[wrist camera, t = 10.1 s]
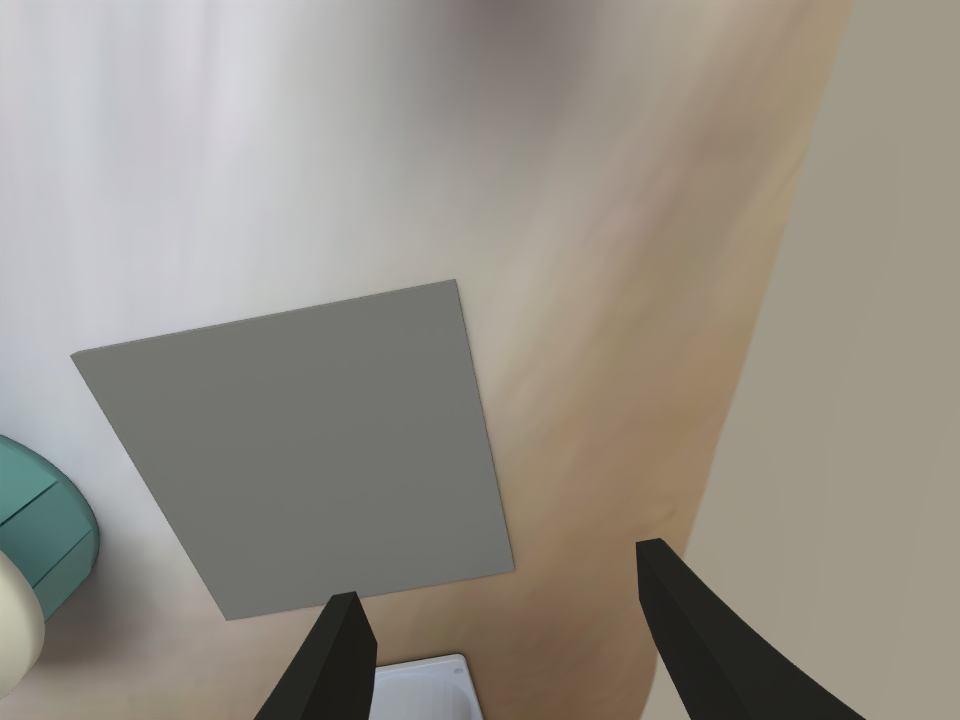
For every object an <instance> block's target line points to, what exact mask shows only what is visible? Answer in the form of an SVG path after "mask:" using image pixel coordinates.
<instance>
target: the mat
mask: <svg viewBox="0 0 960 720" xmlns="http://www.w3.org/2000/svg"><path fill="white" fill-rule="evenodd" d="M70 357H71V358H72V360H73V362H74V364H75V365H76V367H77V369H78V370H79V372H80V374H81V375H82V377H83V379H84V380H85V382H86V384H87V386H88V387H89V389H90V391H91V392H92V394H93V396H94V397H95V399H96V401H97V402H98V404H99V406H100V408H101V409H102V411H103V413H104V414H105V416H106V418H107V419H108V421H109V423H110V424H111V426H112V428H113V430H114V431H115V433H116V435H117V436H118V438H119V440H120V441H121V443H122V445H123V446H124V448H125V450H126V452H127V453H128V455H129V457H130V458H131V460H132V462H133V463H134V465H135V467H136V468H137V470H138V472H139V473H140V475H141V477H142V479H143V480H144V482H145V484H146V485H147V487H148V489H149V490H150V492H151V494H152V495H153V497H154V499H155V501H156V502H157V504H158V506H159V507H160V509H161V511H162V512H163V514H164V516H165V517H166V519H167V521H168V523H169V524H170V526H171V528H172V529H173V531H174V533H175V534H176V536H177V538H178V539H179V541H180V543H181V545H182V546H183V548H184V550H185V551H186V553H187V555H188V556H189V558H190V560H191V561H192V563H193V565H194V567H195V568H196V570H197V572H198V573H199V575H200V577H201V578H202V580H203V582H204V583H205V585H206V587H207V589H208V590H209V592H210V594H211V595H212V597H213V599H214V600H215V602H216V604H217V605H218V607H219V609H220V611H221V612H222V614H223V616H224V617H225V619H226V621H230V620H235V619H241V618H247V617H253V616H258V615H264V614H270V613H276V612H281V611H287V610H293V609H299V608H304V607H310V606H316V605H322V604H327V603H328V601H329V599H330V598H331V597H332V595H336V594H341V593H347V592H353V591H356V593H357V595H358V598H362V597H368V596H374V595H379V594H385V593H391V592H397V591H402V590H408V589H414V588H420V587H425V586H431V585H437V584H443V583H449V582H454V581H460V580H466V579H472V578H477V577H483V576H489V575H495V574H500V573H506V572H512V571H515V567H514V561H513V557H512V552H511V547H510V542H509V537H508V532H507V528H506V523H505V518H504V513H503V508H502V503H501V498H500V494H499V489H498V484H497V479H496V474H495V469H494V465H493V460H492V455H491V450H490V445H489V440H488V436H487V431H486V426H485V421H484V416H483V411H482V406H481V402H480V397H479V392H478V387H477V382H476V377H475V373H474V368H473V363H472V358H471V353H470V348H469V344H468V339H467V334H466V329H465V324H464V319H463V314H462V310H461V305H460V300H459V295H458V290H457V285H456V281H455V279H453V280H448V281H443V282H438V283H432V284H427V285H422V286H417V287H412V288H406V289H401V290H396V291H391V292H386V293H380V294H375V295H370V296H365V297H360V298H354V299H349V300H344V301H339V302H334V303H328V304H323V305H318V306H313V307H308V308H302V309H297V310H292V311H287V312H282V313H276V314H271V315H266V316H261V317H256V318H250V319H245V320H240V321H235V322H229V323H224V324H219V325H214V326H209V327H203V328H198V329H193V330H188V331H183V332H177V333H172V334H167V335H162V336H157V337H151V338H146V339H141V340H136V341H131V342H125V343H120V344H115V345H110V346H105V347H99V348H94V349H89V350H84V351H79V352H76V353H74V354H72V355H70Z"/></svg>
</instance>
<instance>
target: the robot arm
mask: <svg viewBox="0 0 960 720" xmlns="http://www.w3.org/2000/svg"><path fill="white" fill-rule="evenodd" d="M636 555H637V572H638V589H639V600H640V603H641V606H642V609H643V612H644V615H645V617H646V620H647V623H648V626H649V628H650V631H651V634H652V637H653V639H654V642H655V644H656V647H657V649H658V651H659V653H660V655H661V657H662V659H663V662H664V663H665V666H666V668H667V670H668V672H669V674H670V676H671V679H672V681H673V683H674V685H675V687H676V689H677V691H678V693H679V695H680V698H681V700H682V702H683V704H684V706H685V708H686V710H687V712H688V714H689V717H690V719H691V720H866V719H865V718H863V717H862V716H861V715H859V714H858V713H856V712H855V711H854V710H852V709H851V708H850V707H848V706H847V705H846V704H844V703H843V702H842V701H840V700H839V699H838V698H836V697H835V696H834V695H832V694H831V693H830V692H828V691H827V690H826V689H824V688H823V687H822V686H820V685H819V684H818V683H817V682H815V681H814V680H813V679H812V678H810V677H809V676H808V675H806V674H805V673H804V672H803V671H801V670H800V669H799V668H798V667H797V666H795V665H794V664H793V663H791V662H790V661H789V660H788V659H787V658H785V657H784V656H783V655H782V654H781V653H779V652H778V651H777V650H776V649H775V648H774V647H772V646H771V645H770V644H769V643H768V642H767V641H766V640H764V639H763V638H762V637H761V636H760V635H759V634H758V633H756V632H755V631H754V630H753V629H752V628H751V627H750V626H748V625H747V624H746V623H745V622H744V621H743V620H742V619H741V618H740V617H739V616H738V615H737V614H736V613H735V612H733V611H732V610H731V609H730V608H729V607H728V606H727V605H726V604H725V603H724V602H723V601H722V600H721V599H720V598H719V597H718V596H716V595H715V594H714V593H713V592H712V591H711V590H710V589H709V588H708V587H707V586H706V585H705V584H704V583H703V582H702V581H701V580H700V579H699V578H698V577H697V575H696V574H694V572H693V571H692V570H691V569H690V568H689V567H688V566H687V565H686V564H685V563H684V562H683V561H682V560H681V559H680V558H679V557H678V556H677V554H676V553H675V552H674V551H673V550H672V549H671V548H670V547H669V546H668V545H667V543H666V542H665V541H664V540H662V539H661V538H657V539H652V540H646V541H640V542H636ZM376 658H377V642H376V639H375V637H374V634H373V632H372V629H371V627H370V624H369V622H368V620H367V617H366V615H365V612H364V610H363V607H362V605H361V602H360V600H359V598H358V595H357V593H356V591H353V592H347V593H341V594H336V595H332V597H331V598H330V599H329V601H328V603H327V604H326V606H325V608H324V609H323V611H322V613H321V614H320V616H319V618H318V619H317V621H316V623H315V624H314V626H313V628H312V629H311V631H310V633H309V634H308V636H307V638H306V639H305V641H304V642H303V644H302V646H301V647H300V649H299V651H298V652H297V654H296V656H295V657H294V659H293V660H292V662H291V663H290V665H289V667H288V668H287V670H286V671H285V673H284V674H283V676H282V678H281V679H280V681H279V682H278V684H277V685H276V687H275V689H274V690H273V692H272V693H271V695H270V696H269V698H268V699H267V701H266V702H265V703H264V705H263V706H262V708H261V709H260V711H259V712H258V714H257V715H256V717H255V718H254V719H253V720H483V716H482V713H481V710H480V706H479V703H478V700H477V696H476V693H475V690H474V686H473V683H472V680H471V676H470V673H469V670H468V666H467V663H466V660H465V657H464V656H462V655H460V654H453V655H447V656H441V657H436V658H430V659H424V660H418V661H412V662H406V663H400V664H394V665H388V666H382V667H376Z"/></svg>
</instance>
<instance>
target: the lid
mask: <svg viewBox="0 0 960 720" xmlns="http://www.w3.org/2000/svg"><path fill="white" fill-rule="evenodd" d="M44 638H45V624H44V617H43V613H42V610H41V607H40V604H39V601H38V599H37V597H36V595H35V593H34V591H33V589H32V588H31V586H30V584H29V583H28V581H27V580H26V579H25V577H24V576H23V574H22V573H21V572H20V570H19V569H18V568H17V567H16V566H15V565H14V564H13V562H12V561H11V560H10V559H9V558H8V557H7V556H6V555H5V554H4V553H3V552H2V551H1V550H0V700H2V699H3V698H4V697H6V696H7V695H8V694H9V693H10V692H11V691H12V690H13V689H14V688H15V687H16V686H17V685H18V683H19V682H20V681H21V680H22V679H23V678H24V676H25V675H26V674H27V673H28V672H29V670H30V669H31V668H32V667H33V666H34V664H35V662H36V661H37V659H38V658H39V656H40V654H41V651H42V648H43V645H44Z"/></svg>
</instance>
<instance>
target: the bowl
mask: <svg viewBox="0 0 960 720" xmlns="http://www.w3.org/2000/svg"><path fill="white" fill-rule="evenodd" d="M98 549H99V532H98V527H97V523H96V520H95V518H94V515H93V513H92V510H91V508H90V507H89V505H88V503H87V502H86V500H85V498H84V497H83V496H82V494H81V493H80V492H79V490H78V489H77V488H76V486H75V485H74V484H73V483H72V482H71V481H70V480H69V479H68V478H67V477H66V476H65V475H64V474H63V473H62V472H61V471H59V470H58V469H57V468H56V467H55V466H54V465H52V464H51V463H50V462H48V461H47V460H45V459H44V458H43V457H41V456H40V455H38V454H37V453H35V452H33V451H32V450H30V449H28V448H27V447H25V446H23V445H21V444H19V443H17V442H15V441H13V440H11V439H9V438H7V437H5V436H2V435H0V550H1V551H2V552H3V553H4V554H5V555H6V556H7V557H8V558H9V559H10V560H11V561H12V562H13V564H14V565H15V566H16V567H17V568H18V569H19V570H20V572H21V573H22V574H23V576H24V577H25V579H26V580H27V581H28V583H29V584H30V586H31V588H32V589H33V591H34V593H35V595H36V597H37V599H38V601H39V604H40V607H41V610H42V613H43V617H44V623H45V622H46V621H47V620H48V619H49V618H50V617H51V616H52V615H53V614H54V612H55V611H56V610H57V609H58V608H59V607H60V606H61V605H62V604H63V603H64V601H65V600H66V599H67V598H68V597H69V596H70V595H71V594H72V593H73V592H74V590H75V589H76V588H77V587H78V586H79V585H80V584H81V583H82V582H83V581H84V580H85V578H86V577H87V576H88V575H89V574H90V572H91V568H92V566H93V564H94V562H95V560H96V557H97V554H98Z"/></svg>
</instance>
